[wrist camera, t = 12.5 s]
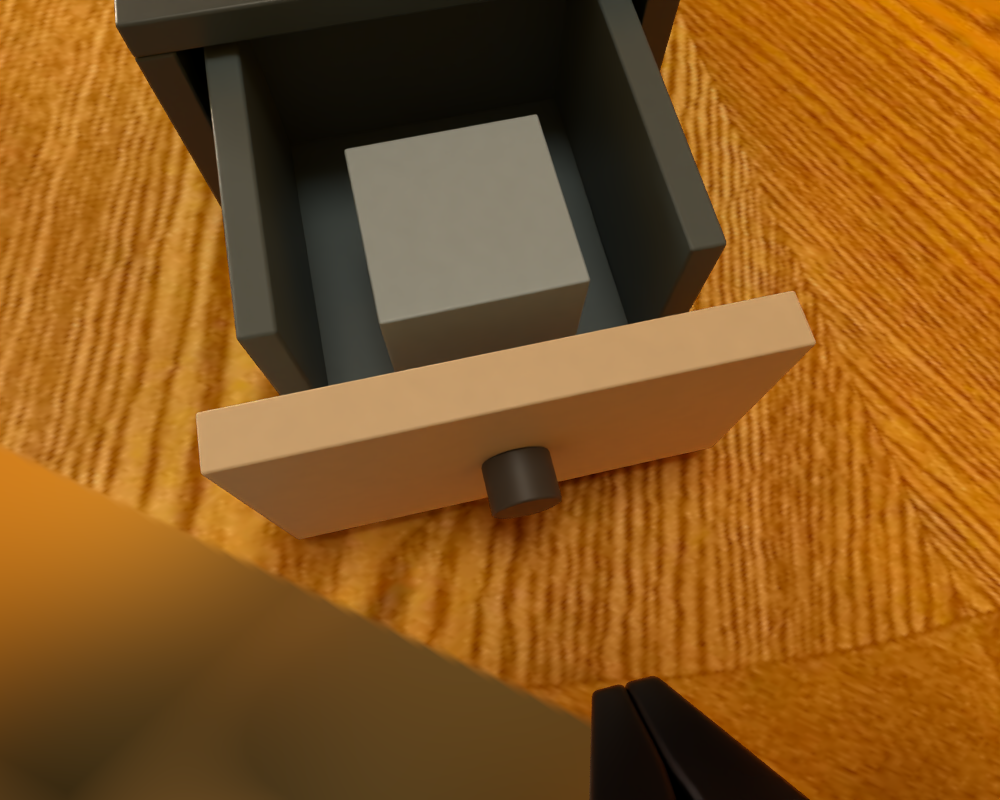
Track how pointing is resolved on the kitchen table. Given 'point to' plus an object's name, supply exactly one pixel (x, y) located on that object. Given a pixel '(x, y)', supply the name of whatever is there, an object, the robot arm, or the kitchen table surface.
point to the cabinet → (256, 14)
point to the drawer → (493, 376)
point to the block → (467, 242)
